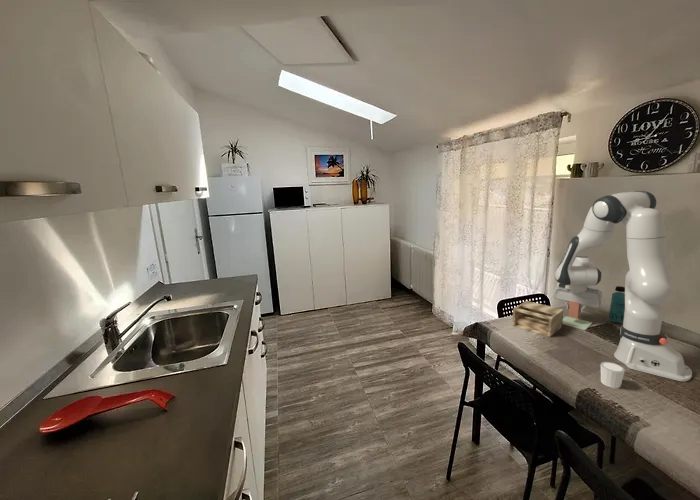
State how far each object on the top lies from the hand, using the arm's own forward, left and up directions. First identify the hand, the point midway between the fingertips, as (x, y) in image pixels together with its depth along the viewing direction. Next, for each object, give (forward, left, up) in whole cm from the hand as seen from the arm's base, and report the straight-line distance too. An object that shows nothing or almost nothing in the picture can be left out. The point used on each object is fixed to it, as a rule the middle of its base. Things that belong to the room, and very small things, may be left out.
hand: (574, 310), depth 160 cm
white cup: (-26, +48, -8) cm, 55 cm away
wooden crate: (+11, +17, -7) cm, 22 cm away
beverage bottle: (-15, -16, -8) cm, 23 cm away
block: (0, 0, -4) cm, 4 cm away
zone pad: (-1, -1, -7) cm, 7 cm away
